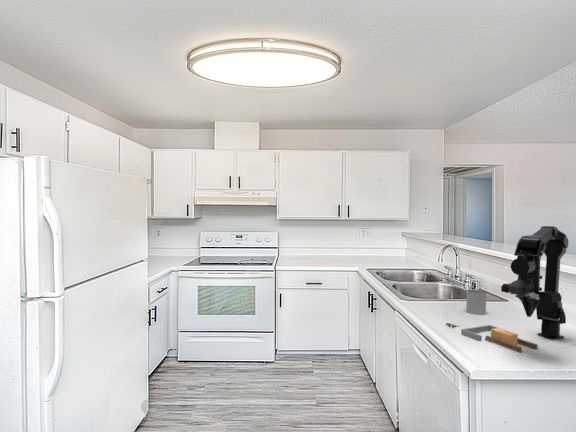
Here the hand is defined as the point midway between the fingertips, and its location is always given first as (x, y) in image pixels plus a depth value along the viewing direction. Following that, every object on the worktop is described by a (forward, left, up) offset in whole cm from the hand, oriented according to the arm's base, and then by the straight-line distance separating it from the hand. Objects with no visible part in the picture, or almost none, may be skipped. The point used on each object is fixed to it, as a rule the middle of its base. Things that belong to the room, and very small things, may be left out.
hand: (529, 316), depth 144 cm
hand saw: (+3, -41, -13) cm, 43 cm away
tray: (0, -18, -12) cm, 21 cm away
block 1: (0, -12, -12) cm, 17 cm away
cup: (-25, -44, -12) cm, 52 cm away
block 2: (0, -8, -12) cm, 14 cm away
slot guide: (0, -7, -12) cm, 14 cm away
